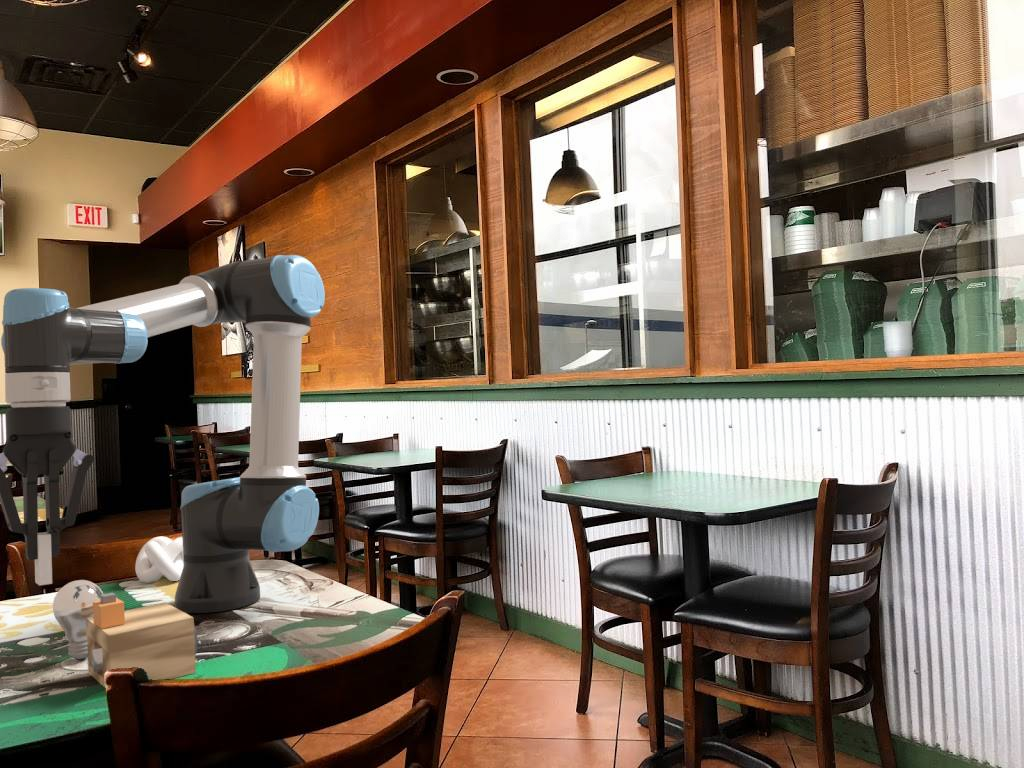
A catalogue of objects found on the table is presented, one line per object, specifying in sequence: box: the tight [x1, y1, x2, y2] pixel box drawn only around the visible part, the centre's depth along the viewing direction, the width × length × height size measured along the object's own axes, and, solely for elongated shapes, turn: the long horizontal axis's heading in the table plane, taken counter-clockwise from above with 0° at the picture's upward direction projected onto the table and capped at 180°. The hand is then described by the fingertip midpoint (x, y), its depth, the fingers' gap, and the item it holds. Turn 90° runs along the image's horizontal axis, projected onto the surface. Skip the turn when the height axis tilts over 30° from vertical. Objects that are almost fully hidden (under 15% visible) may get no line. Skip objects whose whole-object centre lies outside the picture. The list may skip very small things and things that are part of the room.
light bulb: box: [52, 579, 104, 662], centre depth 122 cm, size 7×7×12 cm
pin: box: [91, 625, 199, 672], centre depth 116 cm, size 5×13×5 cm, turn 131°
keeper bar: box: [93, 592, 125, 629], centre depth 113 cm, size 4×3×4 cm
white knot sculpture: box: [134, 535, 184, 584], centre depth 174 cm, size 11×12×9 cm
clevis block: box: [86, 602, 197, 688], centre depth 115 cm, size 12×11×8 cm
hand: (43, 582), depth 108 cm, fingers closed
